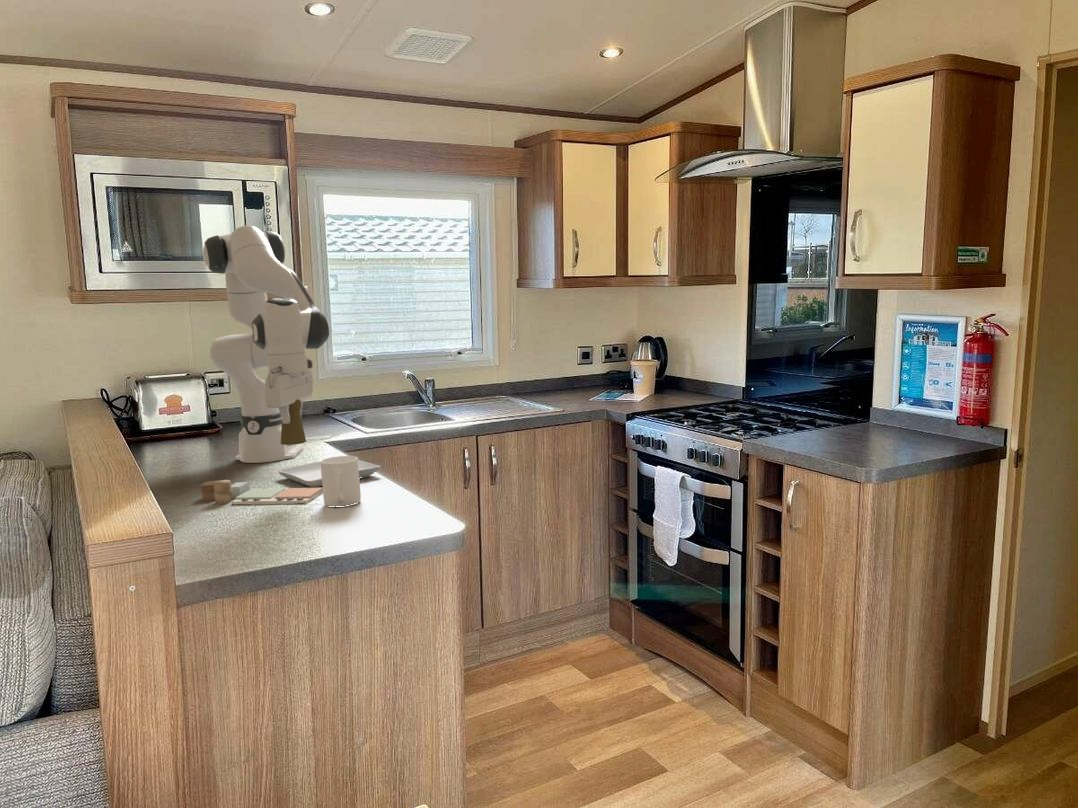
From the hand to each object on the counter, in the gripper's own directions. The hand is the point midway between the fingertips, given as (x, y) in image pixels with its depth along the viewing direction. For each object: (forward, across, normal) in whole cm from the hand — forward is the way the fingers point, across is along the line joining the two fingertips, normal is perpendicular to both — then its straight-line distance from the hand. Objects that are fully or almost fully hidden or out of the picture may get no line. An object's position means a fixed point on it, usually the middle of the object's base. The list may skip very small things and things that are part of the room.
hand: (292, 421), depth 196 cm
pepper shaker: (+6, 0, 0) cm, 6 cm away
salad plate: (+20, +20, 0) cm, 28 cm away
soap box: (+19, +3, +17) cm, 26 cm away
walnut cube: (+19, 0, +23) cm, 30 cm away
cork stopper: (+19, -4, +18) cm, 26 cm away
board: (+19, -1, +5) cm, 20 cm away
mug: (+19, -8, -14) cm, 25 cm away
